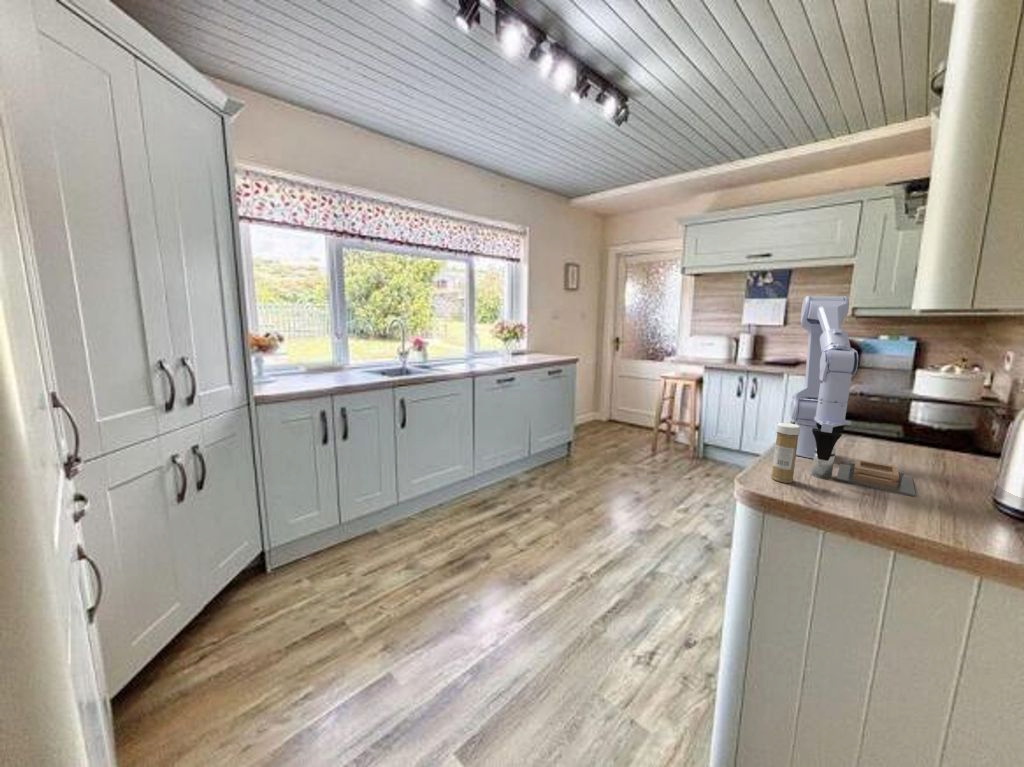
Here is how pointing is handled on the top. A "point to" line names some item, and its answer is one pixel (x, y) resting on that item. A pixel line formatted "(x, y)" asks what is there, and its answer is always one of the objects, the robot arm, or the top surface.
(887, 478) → the collar stand
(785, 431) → the sprinkles bottle
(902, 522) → the top surface
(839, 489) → the top surface
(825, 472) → the metal cylinder
